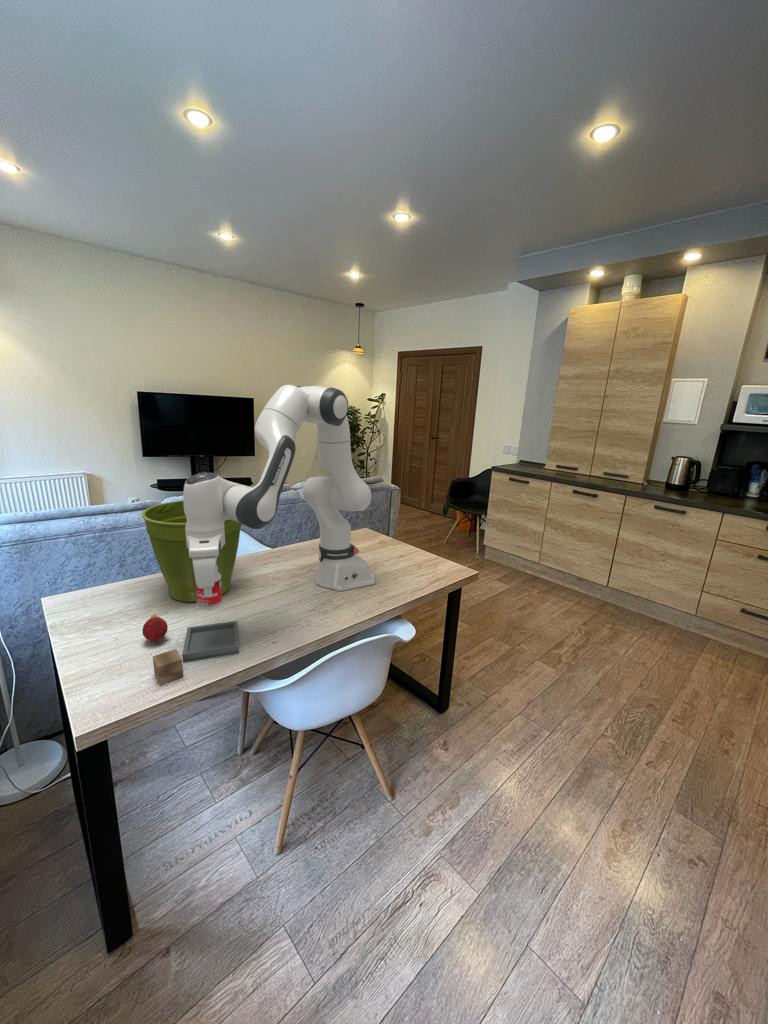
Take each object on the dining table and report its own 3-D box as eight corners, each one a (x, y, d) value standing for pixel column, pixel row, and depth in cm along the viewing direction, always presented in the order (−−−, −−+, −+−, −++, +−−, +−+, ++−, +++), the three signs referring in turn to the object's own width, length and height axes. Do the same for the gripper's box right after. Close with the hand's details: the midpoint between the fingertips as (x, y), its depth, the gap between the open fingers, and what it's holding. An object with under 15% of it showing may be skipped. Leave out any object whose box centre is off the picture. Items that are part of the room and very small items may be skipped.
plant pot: (161, 576, 144) (154, 499, 137) (247, 570, 153) (244, 498, 146) (139, 617, 117) (129, 524, 109) (245, 607, 126) (242, 520, 118)
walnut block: (177, 666, 96) (176, 648, 95) (183, 677, 93) (181, 659, 91) (154, 674, 93) (152, 656, 92) (159, 686, 89) (157, 667, 88)
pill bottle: (194, 611, 99) (191, 571, 97) (200, 600, 105) (197, 561, 102) (220, 610, 101) (218, 570, 98) (224, 599, 107) (222, 561, 104)
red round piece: (172, 641, 106) (169, 615, 104) (148, 650, 102) (145, 622, 100) (163, 633, 109) (161, 607, 107) (140, 641, 105) (137, 614, 103)
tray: (237, 627, 114) (237, 620, 114) (238, 653, 102) (238, 646, 102) (188, 634, 110) (187, 627, 109) (182, 662, 98) (182, 654, 97)
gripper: (195, 527, 107) (198, 574, 110) (187, 553, 88) (192, 609, 92) (220, 526, 109) (223, 572, 112) (218, 551, 90) (221, 606, 94)
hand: (209, 589), depth 102 cm, fingers closed on pill bottle, 6 cm apart
